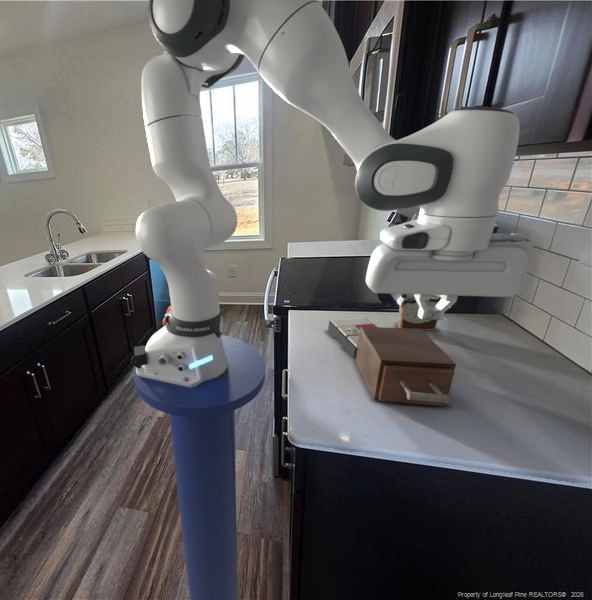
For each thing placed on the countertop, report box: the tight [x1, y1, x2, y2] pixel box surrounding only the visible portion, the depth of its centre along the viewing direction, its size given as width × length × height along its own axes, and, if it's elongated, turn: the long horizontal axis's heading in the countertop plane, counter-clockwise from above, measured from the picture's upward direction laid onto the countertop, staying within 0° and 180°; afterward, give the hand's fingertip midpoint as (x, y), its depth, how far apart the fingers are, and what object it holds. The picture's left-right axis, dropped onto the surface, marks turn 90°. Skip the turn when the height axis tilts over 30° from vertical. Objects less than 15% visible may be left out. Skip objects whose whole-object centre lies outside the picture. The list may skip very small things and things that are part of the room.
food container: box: [396, 294, 442, 331], centre depth 91 cm, size 12×6×10 cm, turn 89°
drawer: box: [378, 364, 455, 407], centre depth 64 cm, size 18×11×8 cm, turn 168°
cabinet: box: [355, 326, 457, 402], centre depth 68 cm, size 15×13×10 cm
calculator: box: [327, 317, 378, 359], centre depth 85 cm, size 11×4×15 cm
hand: (429, 318), depth 52 cm, fingers closed
